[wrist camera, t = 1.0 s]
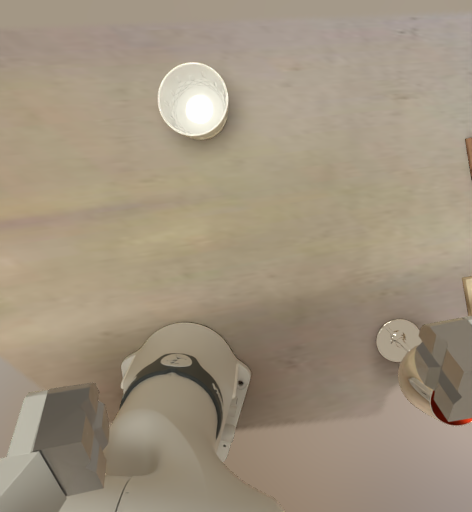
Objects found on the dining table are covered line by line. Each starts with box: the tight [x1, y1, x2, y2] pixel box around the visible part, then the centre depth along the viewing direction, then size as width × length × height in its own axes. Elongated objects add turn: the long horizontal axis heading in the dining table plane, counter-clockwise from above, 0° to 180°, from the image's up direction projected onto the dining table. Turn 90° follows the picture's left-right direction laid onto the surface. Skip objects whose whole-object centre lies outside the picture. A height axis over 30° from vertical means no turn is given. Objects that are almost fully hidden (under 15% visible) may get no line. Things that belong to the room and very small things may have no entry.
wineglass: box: [376, 319, 472, 426], centre depth 54 cm, size 8×8×18 cm
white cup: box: [158, 62, 228, 140], centre depth 54 cm, size 8×8×10 cm
